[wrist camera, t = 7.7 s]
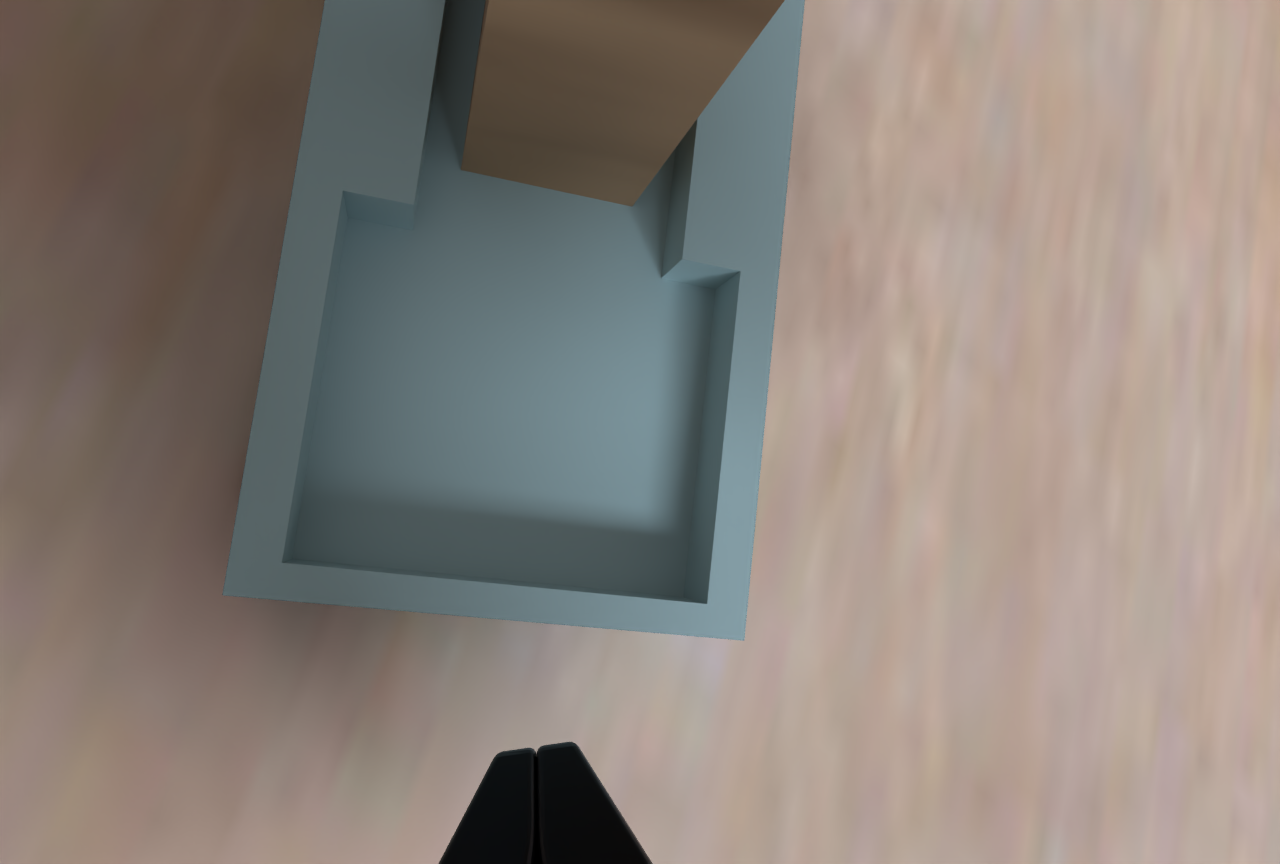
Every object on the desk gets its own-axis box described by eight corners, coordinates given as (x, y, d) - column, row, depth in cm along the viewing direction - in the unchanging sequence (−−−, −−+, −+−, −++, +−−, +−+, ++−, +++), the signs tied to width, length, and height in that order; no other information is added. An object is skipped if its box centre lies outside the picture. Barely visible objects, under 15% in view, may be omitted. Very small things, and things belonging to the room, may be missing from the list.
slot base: (707, 627, 18) (780, 653, 14) (244, 585, 16) (199, 605, 12) (796, -261, 21) (875, -418, 17) (412, -406, 18) (414, -620, 15)
